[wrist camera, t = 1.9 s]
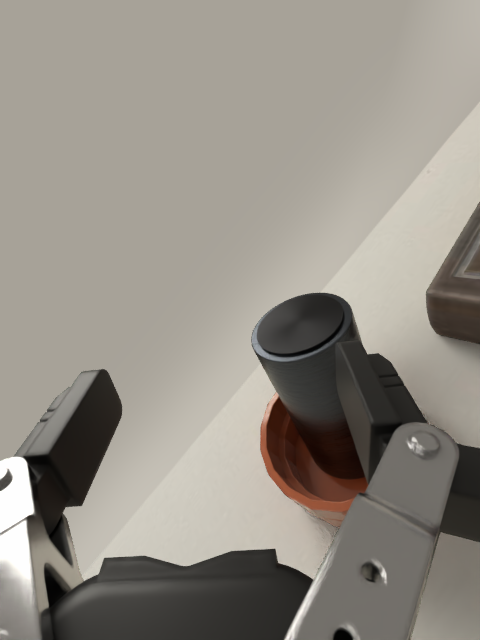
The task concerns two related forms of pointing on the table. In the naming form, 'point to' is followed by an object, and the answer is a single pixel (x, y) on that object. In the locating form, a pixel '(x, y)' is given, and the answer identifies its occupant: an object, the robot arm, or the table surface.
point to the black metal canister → (311, 374)
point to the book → (458, 287)
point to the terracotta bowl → (303, 469)
